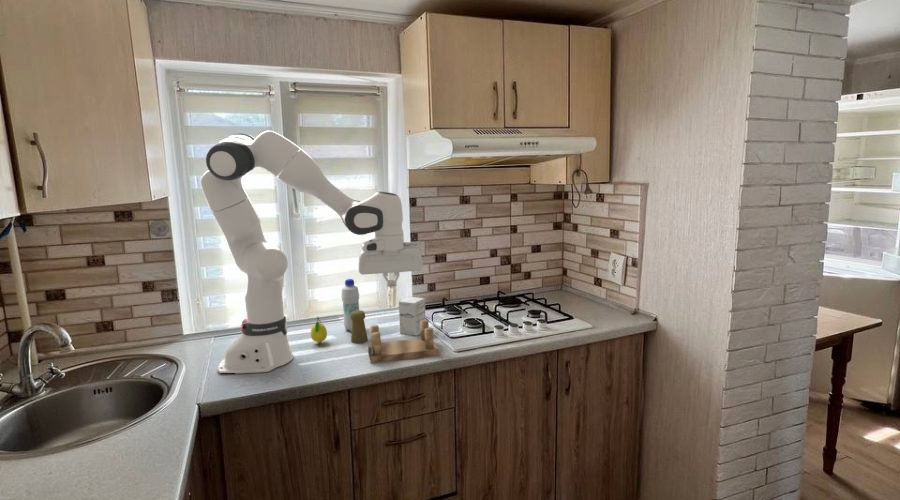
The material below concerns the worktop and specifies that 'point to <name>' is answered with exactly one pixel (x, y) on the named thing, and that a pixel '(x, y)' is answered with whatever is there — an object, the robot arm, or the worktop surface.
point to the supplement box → (411, 315)
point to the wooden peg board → (405, 346)
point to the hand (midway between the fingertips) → (391, 286)
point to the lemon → (318, 332)
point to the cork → (358, 327)
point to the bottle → (349, 302)
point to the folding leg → (376, 343)
